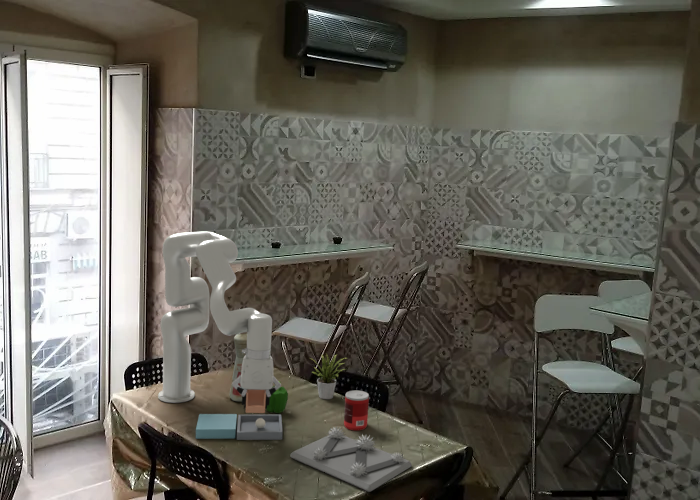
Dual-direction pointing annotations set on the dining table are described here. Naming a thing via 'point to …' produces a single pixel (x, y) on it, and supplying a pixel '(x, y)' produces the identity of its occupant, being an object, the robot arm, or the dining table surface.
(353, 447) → the grey linkage board
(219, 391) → the dining table surface
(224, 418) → the stand
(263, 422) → the ball
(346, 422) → the canned food
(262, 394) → the orange open box
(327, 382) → the house plant
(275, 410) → the bell pepper
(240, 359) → the bottle
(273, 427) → the tray
